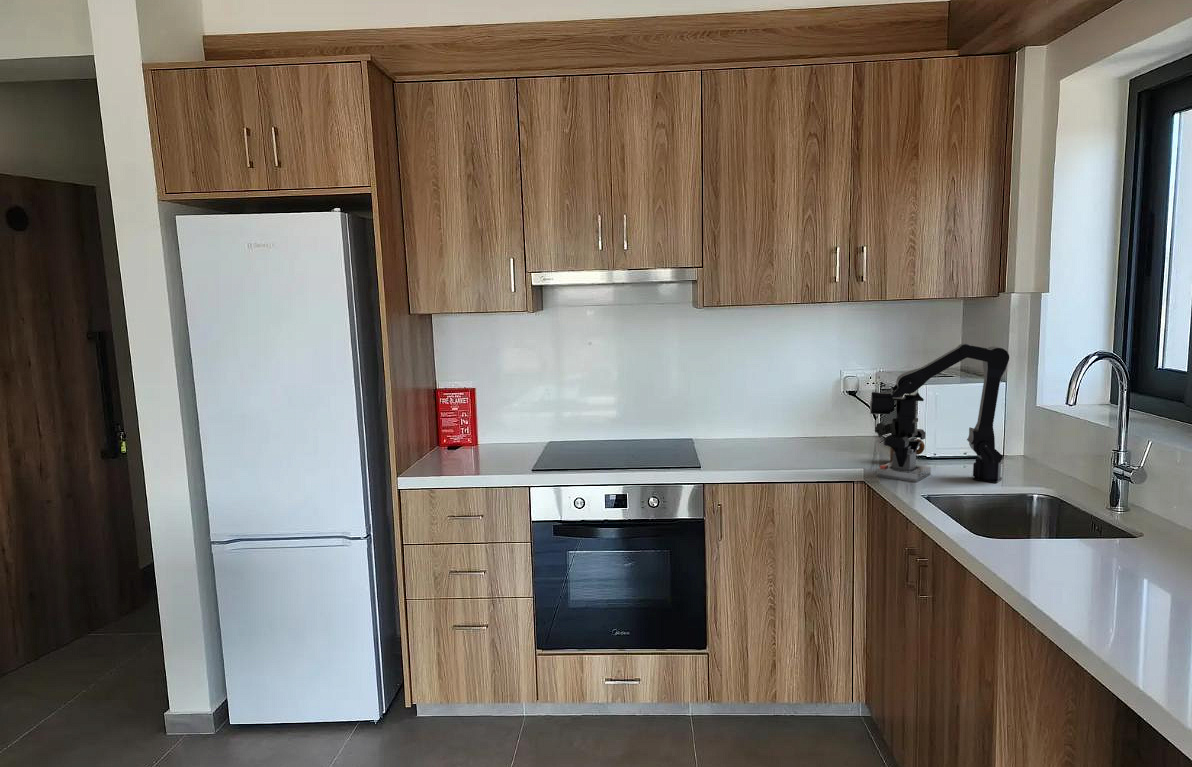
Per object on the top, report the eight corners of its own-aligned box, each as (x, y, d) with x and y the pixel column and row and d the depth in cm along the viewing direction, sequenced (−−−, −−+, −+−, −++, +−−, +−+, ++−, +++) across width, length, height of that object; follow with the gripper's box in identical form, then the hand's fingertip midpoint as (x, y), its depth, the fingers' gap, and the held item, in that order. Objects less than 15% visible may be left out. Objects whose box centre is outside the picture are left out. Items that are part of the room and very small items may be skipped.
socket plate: (930, 474, 228) (930, 465, 228) (916, 482, 220) (917, 472, 219) (891, 468, 236) (891, 459, 236) (876, 476, 228) (876, 466, 227)
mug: (931, 467, 238) (932, 438, 237) (914, 470, 235) (915, 440, 234) (901, 460, 249) (902, 432, 248) (884, 462, 245) (885, 434, 244)
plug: (915, 468, 228) (916, 449, 227) (909, 471, 224) (910, 452, 223) (898, 465, 231) (899, 447, 231) (892, 468, 228) (892, 450, 227)
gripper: (890, 408, 238) (889, 456, 240) (867, 416, 224) (866, 466, 226) (926, 412, 231) (925, 461, 232) (905, 420, 217) (903, 472, 219)
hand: (904, 465), depth 228 cm, fingers closed on plug, 5 cm apart
